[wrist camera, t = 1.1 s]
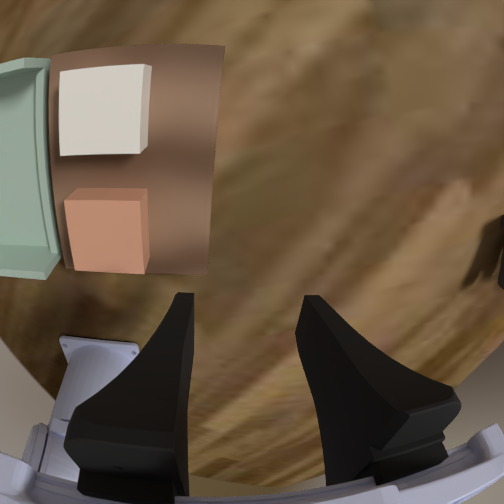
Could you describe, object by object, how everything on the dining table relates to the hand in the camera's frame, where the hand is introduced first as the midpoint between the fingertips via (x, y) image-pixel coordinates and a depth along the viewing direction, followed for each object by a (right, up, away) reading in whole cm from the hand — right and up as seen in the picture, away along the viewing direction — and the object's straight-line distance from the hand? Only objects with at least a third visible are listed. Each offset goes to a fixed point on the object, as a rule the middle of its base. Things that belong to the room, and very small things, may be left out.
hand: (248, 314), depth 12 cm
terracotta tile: (-8, +4, +6) cm, 11 cm away
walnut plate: (-7, +8, +6) cm, 13 cm away
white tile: (-8, +10, +2) cm, 13 cm away
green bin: (-19, +9, +5) cm, 21 cm away
